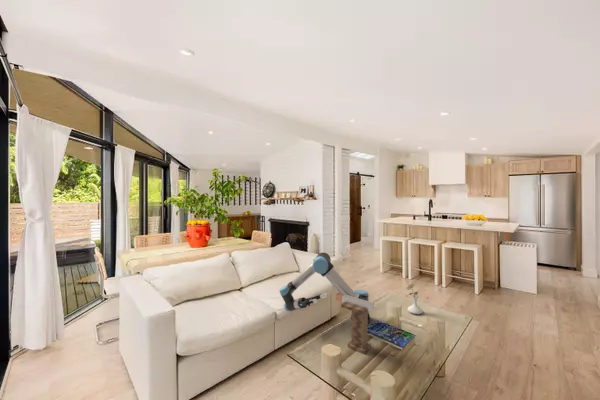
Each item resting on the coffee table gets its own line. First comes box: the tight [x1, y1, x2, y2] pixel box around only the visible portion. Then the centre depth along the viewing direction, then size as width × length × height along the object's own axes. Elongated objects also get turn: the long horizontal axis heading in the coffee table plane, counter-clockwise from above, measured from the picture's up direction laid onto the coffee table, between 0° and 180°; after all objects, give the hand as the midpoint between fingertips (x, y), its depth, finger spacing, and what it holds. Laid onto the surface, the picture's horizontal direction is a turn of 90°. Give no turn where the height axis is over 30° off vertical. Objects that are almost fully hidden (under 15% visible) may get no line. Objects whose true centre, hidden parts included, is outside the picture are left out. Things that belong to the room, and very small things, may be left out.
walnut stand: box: [340, 302, 372, 355], centre depth 178 cm, size 17×10×28 cm, turn 52°
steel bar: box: [335, 291, 375, 312], centre depth 178 cm, size 26×4×4 cm, turn 52°
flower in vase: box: [406, 282, 423, 315], centre depth 222 cm, size 13×11×25 cm
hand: (322, 297), depth 194 cm, fingers open, 13 cm apart
